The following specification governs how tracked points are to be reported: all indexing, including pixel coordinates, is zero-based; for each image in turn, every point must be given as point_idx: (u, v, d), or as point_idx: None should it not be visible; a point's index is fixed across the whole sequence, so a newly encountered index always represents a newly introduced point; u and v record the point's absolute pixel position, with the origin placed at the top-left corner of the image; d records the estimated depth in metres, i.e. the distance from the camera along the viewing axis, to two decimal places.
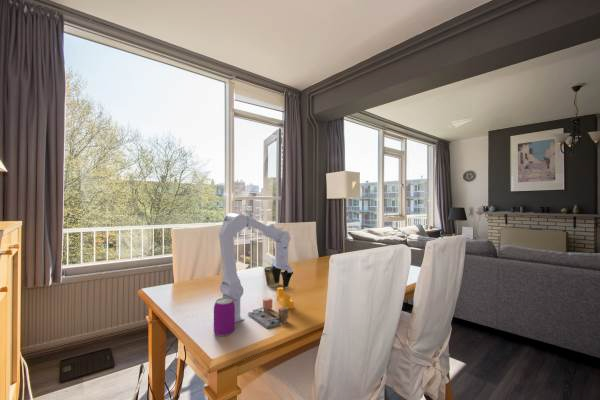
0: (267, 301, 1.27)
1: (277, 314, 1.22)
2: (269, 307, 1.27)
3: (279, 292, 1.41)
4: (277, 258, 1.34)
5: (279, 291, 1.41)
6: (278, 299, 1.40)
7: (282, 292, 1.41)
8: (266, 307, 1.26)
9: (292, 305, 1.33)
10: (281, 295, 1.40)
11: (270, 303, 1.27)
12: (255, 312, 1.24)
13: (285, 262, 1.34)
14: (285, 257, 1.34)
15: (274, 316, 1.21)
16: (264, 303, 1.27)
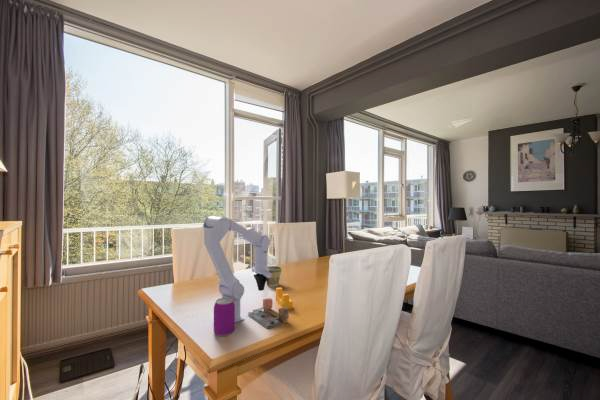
0: (267, 301, 1.27)
1: (277, 314, 1.22)
2: (269, 307, 1.27)
3: (278, 292, 1.41)
4: (256, 263, 1.30)
5: (278, 291, 1.41)
6: (277, 299, 1.40)
7: (281, 292, 1.41)
8: (266, 307, 1.26)
9: (291, 305, 1.33)
10: (280, 295, 1.40)
11: (270, 303, 1.27)
12: (255, 312, 1.24)
13: (264, 267, 1.30)
14: (264, 262, 1.30)
15: (274, 316, 1.21)
16: (264, 303, 1.27)
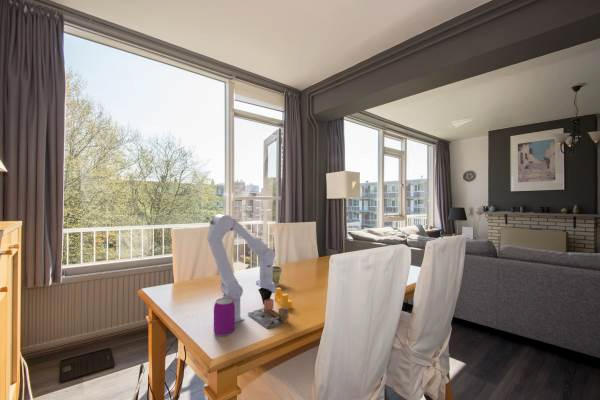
0: (268, 302, 1.26)
1: (277, 314, 1.22)
2: (270, 308, 1.26)
3: (277, 292, 1.40)
4: (261, 277, 1.27)
5: (277, 291, 1.40)
6: (276, 299, 1.40)
7: (280, 292, 1.41)
8: (267, 308, 1.26)
9: (290, 305, 1.33)
10: (279, 295, 1.40)
11: (271, 304, 1.27)
12: (255, 312, 1.24)
13: (270, 281, 1.27)
14: (270, 276, 1.27)
15: (274, 316, 1.21)
16: (265, 304, 1.26)
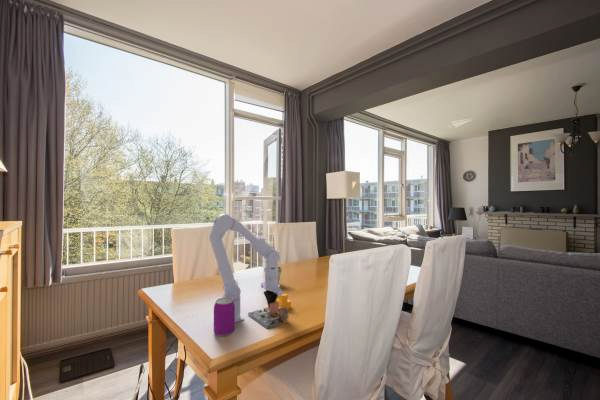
0: (274, 305, 1.22)
1: (277, 314, 1.22)
2: (276, 311, 1.23)
3: None
4: (266, 279, 1.23)
5: None
6: None
7: None
8: (273, 311, 1.22)
9: (290, 305, 1.33)
10: None
11: (277, 307, 1.23)
12: (255, 312, 1.24)
13: (275, 283, 1.23)
14: (275, 278, 1.23)
15: (274, 316, 1.21)
16: (271, 307, 1.22)
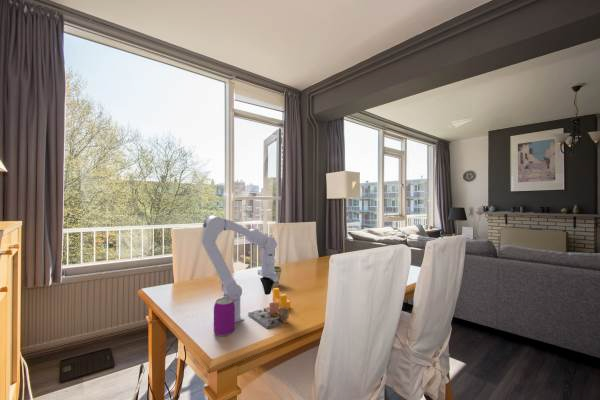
0: (274, 305, 1.22)
1: (277, 314, 1.22)
2: (276, 311, 1.23)
3: (275, 293, 1.40)
4: (263, 266, 1.26)
5: (275, 292, 1.40)
6: (274, 300, 1.40)
7: (278, 292, 1.41)
8: (273, 311, 1.22)
9: (289, 305, 1.32)
10: (277, 295, 1.39)
11: (277, 307, 1.23)
12: (255, 312, 1.24)
13: (271, 270, 1.26)
14: (271, 265, 1.26)
15: (274, 316, 1.21)
16: (271, 307, 1.22)
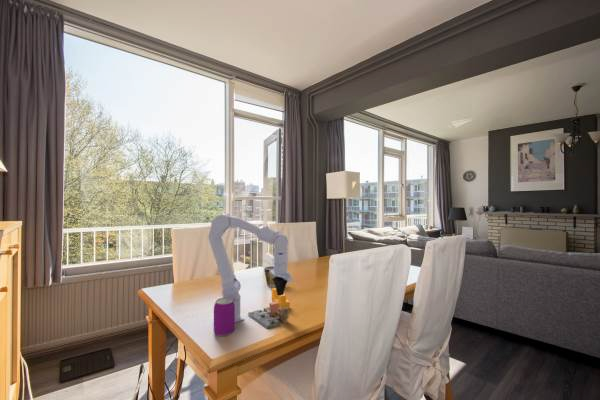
0: (274, 305, 1.22)
1: (277, 314, 1.22)
2: (276, 311, 1.23)
3: (274, 293, 1.40)
4: (275, 265, 1.19)
5: (274, 292, 1.40)
6: (273, 300, 1.39)
7: None
8: (273, 311, 1.22)
9: (288, 305, 1.32)
10: (276, 296, 1.39)
11: (277, 307, 1.23)
12: (255, 312, 1.24)
13: (284, 269, 1.20)
14: (284, 264, 1.20)
15: (274, 316, 1.21)
16: (271, 307, 1.22)
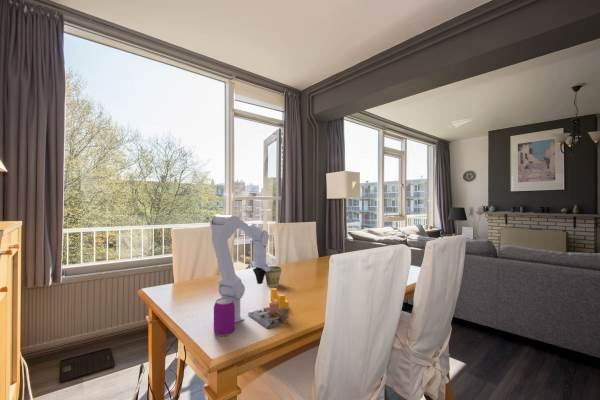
0: (274, 305, 1.22)
1: (277, 314, 1.22)
2: (276, 311, 1.23)
3: (273, 293, 1.39)
4: (255, 257, 1.35)
5: (273, 292, 1.40)
6: (272, 300, 1.39)
7: (276, 293, 1.40)
8: (273, 311, 1.22)
9: (287, 305, 1.32)
10: (275, 296, 1.39)
11: (277, 307, 1.23)
12: (255, 312, 1.24)
13: (263, 261, 1.35)
14: (263, 256, 1.35)
15: (274, 316, 1.21)
16: (271, 307, 1.22)
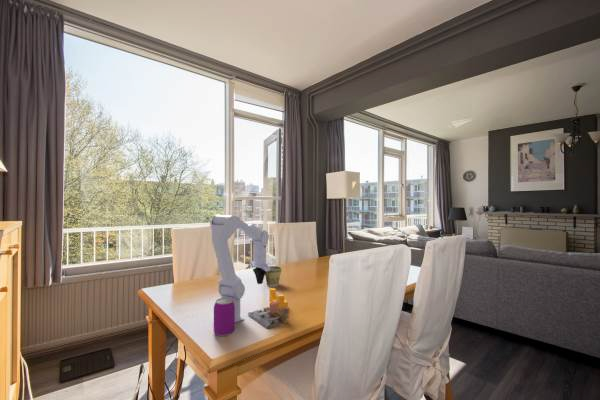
0: (274, 305, 1.22)
1: (277, 314, 1.22)
2: (276, 311, 1.23)
3: (272, 293, 1.39)
4: (255, 257, 1.35)
5: (272, 292, 1.39)
6: (271, 300, 1.39)
7: (275, 293, 1.40)
8: (273, 311, 1.22)
9: (286, 306, 1.32)
10: (274, 296, 1.39)
11: (277, 307, 1.23)
12: (255, 312, 1.24)
13: (263, 261, 1.35)
14: (263, 256, 1.35)
15: (274, 316, 1.21)
16: (271, 307, 1.22)
